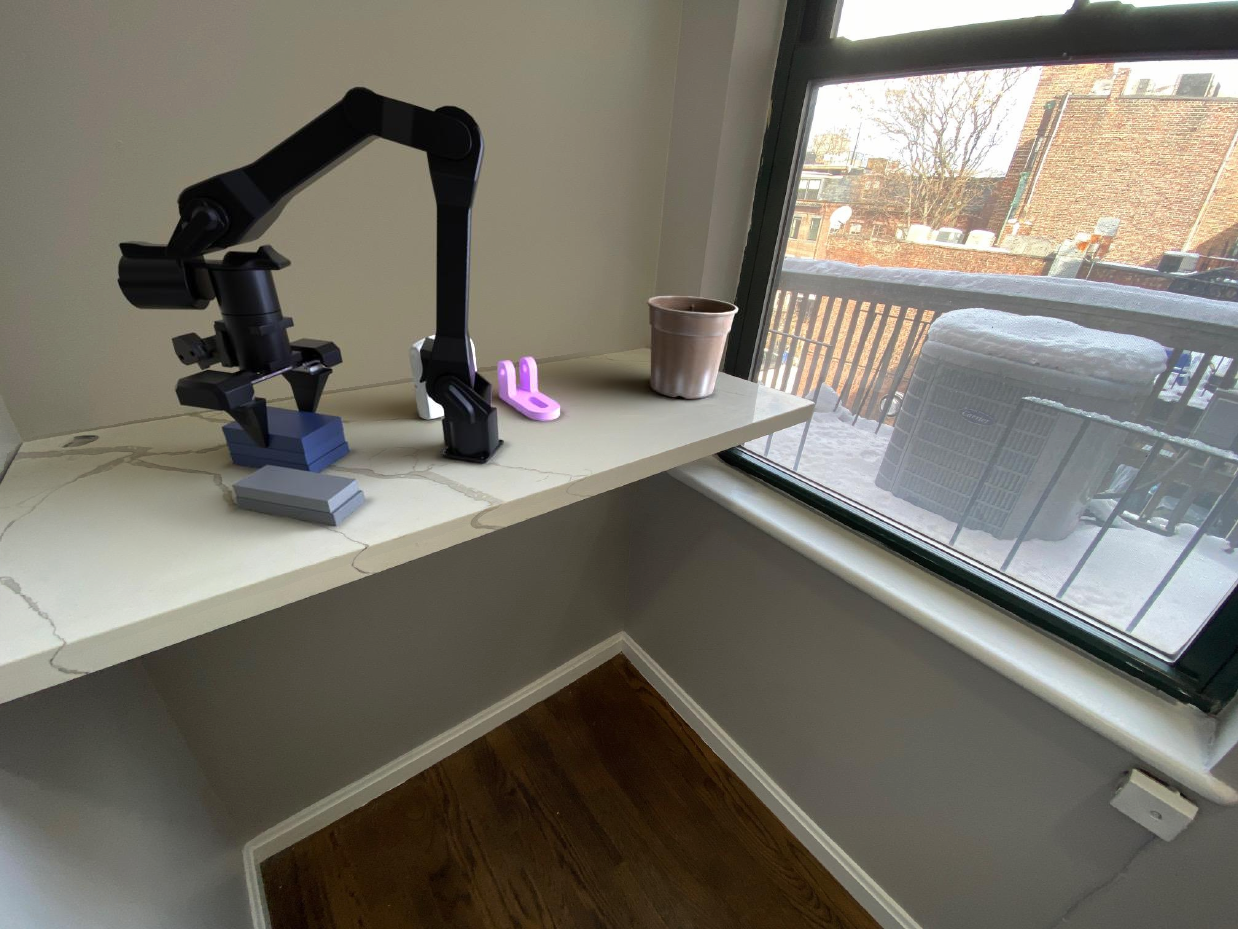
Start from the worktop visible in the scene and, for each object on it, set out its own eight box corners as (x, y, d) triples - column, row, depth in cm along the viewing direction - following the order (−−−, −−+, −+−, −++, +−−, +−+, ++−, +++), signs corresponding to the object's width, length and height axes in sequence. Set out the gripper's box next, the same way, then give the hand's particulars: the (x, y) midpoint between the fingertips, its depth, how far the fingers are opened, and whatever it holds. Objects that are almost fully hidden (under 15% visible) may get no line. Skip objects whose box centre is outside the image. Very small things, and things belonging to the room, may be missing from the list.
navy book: (344, 430, 67) (340, 416, 66) (305, 453, 61) (301, 438, 60) (271, 419, 69) (267, 405, 68) (226, 441, 63) (221, 426, 62)
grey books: (365, 501, 59) (361, 479, 57) (336, 525, 54) (330, 502, 53) (274, 486, 60) (267, 463, 59) (239, 508, 56) (230, 485, 55)
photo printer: (428, 422, 78) (417, 343, 72) (413, 414, 81) (401, 337, 75) (483, 405, 85) (478, 332, 79) (468, 398, 88) (461, 326, 82)
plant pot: (675, 369, 109) (684, 291, 101) (740, 391, 99) (755, 306, 91) (623, 385, 98) (628, 299, 90) (689, 411, 88) (702, 317, 81)
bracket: (499, 397, 89) (496, 358, 86) (527, 391, 92) (526, 354, 89) (536, 423, 80) (535, 381, 77) (566, 416, 84) (566, 375, 80)
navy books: (350, 452, 69) (345, 430, 67) (311, 477, 62) (305, 454, 61) (277, 440, 70) (271, 419, 69) (233, 464, 64) (225, 441, 63)
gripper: (256, 290, 67) (287, 401, 74) (103, 320, 51) (162, 459, 58) (332, 298, 65) (356, 411, 72) (199, 332, 49) (247, 473, 56)
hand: (287, 435), depth 65 cm, fingers closed on navy book, 7 cm apart
